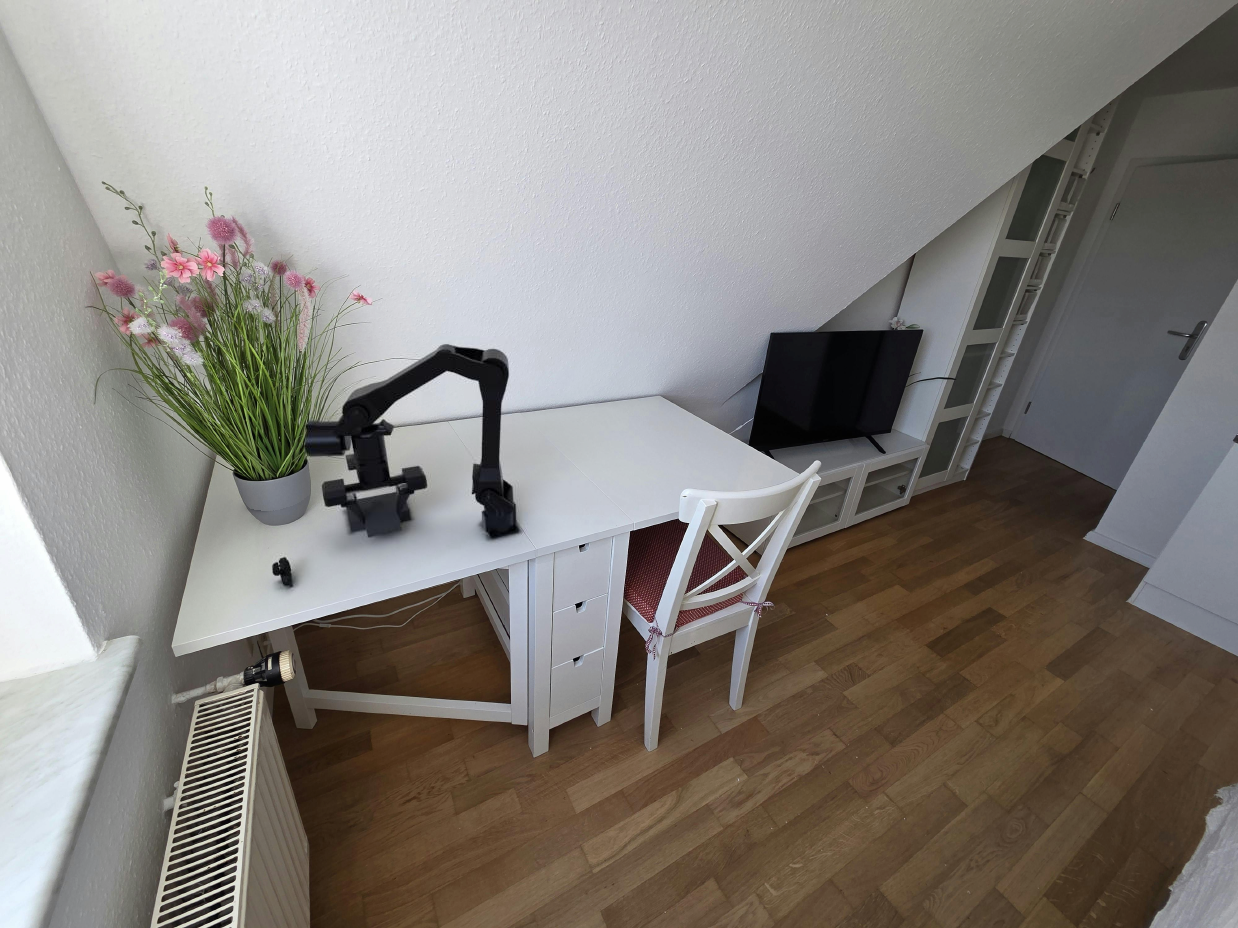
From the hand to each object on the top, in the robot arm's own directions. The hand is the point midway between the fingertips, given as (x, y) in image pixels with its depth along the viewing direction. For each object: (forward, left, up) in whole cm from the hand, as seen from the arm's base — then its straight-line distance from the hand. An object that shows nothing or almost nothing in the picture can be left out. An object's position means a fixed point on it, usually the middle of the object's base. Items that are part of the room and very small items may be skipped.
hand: (381, 520), depth 107 cm
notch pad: (0, -8, -4) cm, 9 cm away
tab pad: (0, -1, -1) cm, 2 cm away
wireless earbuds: (+18, +8, -4) cm, 20 cm away
